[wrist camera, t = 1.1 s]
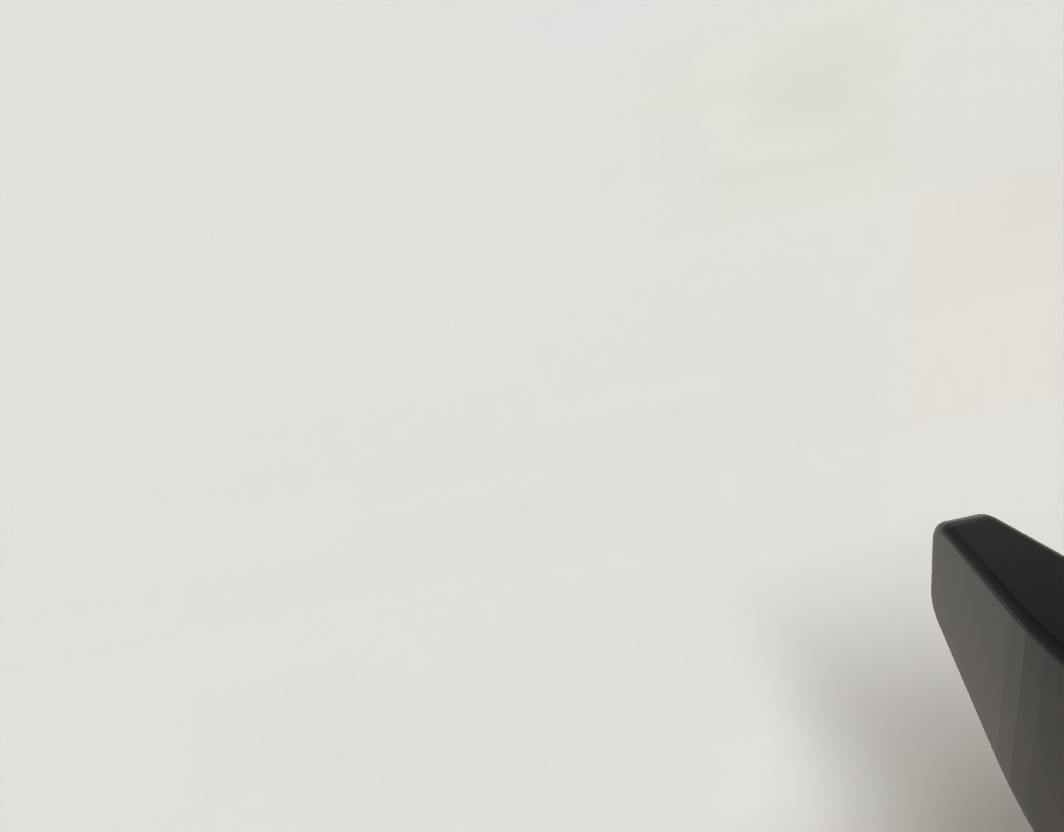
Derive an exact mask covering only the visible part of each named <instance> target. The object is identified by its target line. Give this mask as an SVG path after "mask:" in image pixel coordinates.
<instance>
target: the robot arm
mask: <svg viewBox="0 0 1064 832" xmlns="http://www.w3.org/2000/svg"><path fill="white" fill-rule="evenodd" d="M931 596H932V603H933V607H934V611H935V614H936V618H937V620H938V623H939V625H940V628H941V630H942V632H943V635H944V637H945V639H946V642H947V644H948V646H949V649H950V651H951V653H952V656H953V658H954V660H955V663H956V665H957V667H958V670H959V672H960V674H961V677H962V679H963V681H964V684H965V686H966V688H967V691H968V693H969V695H970V698H971V700H972V702H973V705H974V707H975V709H976V712H977V714H978V716H979V718H980V721H981V723H982V725H983V728H984V730H985V732H986V735H987V737H988V739H989V742H990V744H991V746H992V749H993V751H994V753H995V756H996V758H997V760H998V763H999V765H1000V767H1001V769H1002V771H1003V774H1004V776H1005V778H1006V780H1007V782H1008V785H1009V787H1010V788H1011V790H1012V792H1013V794H1014V796H1015V798H1016V800H1017V802H1018V804H1019V805H1020V807H1021V809H1022V811H1023V813H1024V815H1025V817H1026V818H1027V820H1028V822H1029V824H1030V825H1031V827H1032V829H1033V831H1034V832H1064V556H1063V555H1061V554H1059V553H1058V552H1056V551H1054V550H1052V549H1051V548H1049V547H1047V546H1045V545H1043V544H1042V543H1040V542H1038V541H1036V540H1034V539H1033V538H1031V537H1029V536H1027V535H1025V534H1024V533H1022V532H1020V531H1018V530H1016V529H1015V528H1013V527H1011V526H1009V525H1007V524H1006V523H1004V522H1002V521H1000V520H998V519H997V518H995V517H992V516H989V515H986V514H978V515H973V516H968V517H963V518H959V519H954V520H949V521H944V522H942V523H940V524H938V526H937V527H936V528H935V531H934V534H933V550H932V584H931Z"/></svg>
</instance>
